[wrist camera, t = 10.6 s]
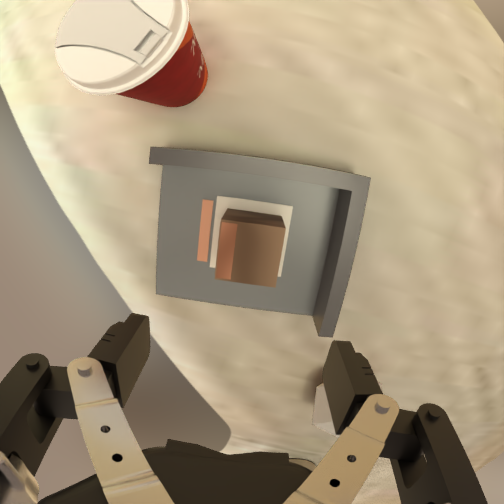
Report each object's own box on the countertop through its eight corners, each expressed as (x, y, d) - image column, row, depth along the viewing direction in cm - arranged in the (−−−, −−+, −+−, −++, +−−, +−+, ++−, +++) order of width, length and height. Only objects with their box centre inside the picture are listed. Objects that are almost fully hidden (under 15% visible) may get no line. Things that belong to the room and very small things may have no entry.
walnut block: (281, 215, 28) (285, 228, 24) (273, 266, 30) (275, 287, 25) (227, 208, 28) (220, 219, 23) (221, 259, 30) (213, 279, 25)
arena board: (323, 314, 32) (332, 337, 28) (157, 291, 32) (143, 312, 28) (354, 173, 28) (370, 177, 23) (166, 147, 27) (150, 146, 23)
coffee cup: (238, 68, 25) (217, -8, 11) (183, 135, 27) (111, 120, 13) (172, 28, 23) (111, -49, 9) (121, 91, 26) (25, 58, 11)
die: (298, 369, 36) (297, 445, 30) (355, 353, 30) (359, 442, 24) (338, 376, 39) (339, 442, 34) (391, 362, 34) (396, 436, 28)
